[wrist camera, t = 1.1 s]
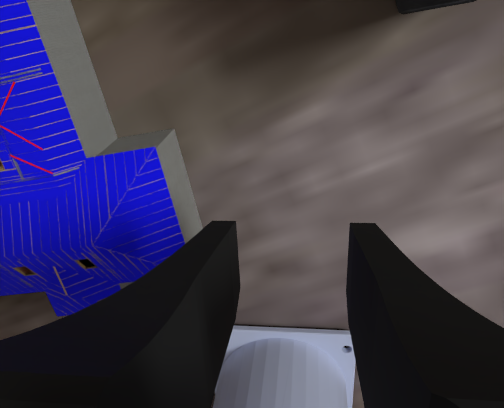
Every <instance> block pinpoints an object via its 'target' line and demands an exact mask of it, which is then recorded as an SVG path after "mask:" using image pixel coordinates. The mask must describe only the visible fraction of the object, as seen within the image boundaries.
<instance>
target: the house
mask: <svg viewBox="0 0 504 408" xmlns="http://www.w3.org/2000/svg"><path fill="white" fill-rule="evenodd" d="M202 229H203V227H202V224H201V221H200V217H199V214H198V210H197V207H196V203H195V200H194V196H193V193H192V189H191V186H190V182H189V179H188V175H187V172H186V168H185V165H184V161H183V158H182V154H181V151H180V147H179V144H178V140H177V137H176V133H175V130H174V129H168V130H162V131H156V132H151V133H145V134H139V135H133V136H128V137H122V138H117V135H116V132H115V129H114V126H113V123H112V120H111V117H110V114H109V111H108V108H107V105H106V103H105V100H104V97H103V94H102V91H101V88H100V85H99V82H98V79H97V76H96V73H95V71H94V68H93V65H92V62H91V59H90V56H89V53H88V50H87V47H86V44H85V41H84V39H83V36H82V33H81V30H80V27H79V24H78V21H77V18H76V15H75V12H74V9H73V6H72V4H71V1H70V0H0V296H5V295H15V294H24V293H33V292H43V291H45V292H46V294H47V296H48V298H49V301H50V303H51V305H52V307H53V309H54V311H55V313H56V315H57V316H66V315H71V314H74V313H76V312H78V311H80V310H82V309H84V308H86V307H88V306H90V305H92V304H94V303H96V302H98V301H100V300H102V299H104V298H107V297H108V296H110V295H112V294H114V293H116V292H117V291H119V290H121V289H123V288H124V287H126V286H128V285H129V284H131V283H133V282H134V281H136V280H137V279H139V278H140V277H142V276H143V275H145V274H146V273H148V272H149V271H151V270H152V269H153V268H155V267H156V266H157V265H159V264H160V263H161V262H163V261H164V260H166V259H167V258H168V257H170V256H171V255H172V254H174V253H175V252H176V251H177V250H178V249H180V248H181V247H182V246H183V245H184V244H186V243H187V242H188V241H189V240H190V239H192V238H193V237H194V236H195V235H196V234H197V233H199V232H200V231H201V230H202ZM89 261H90V262H92V263H93V264H94V265H95V267H91V264H90V262H89Z"/></svg>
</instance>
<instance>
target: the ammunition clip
mask: <svg viewBox="0 0 504 408" xmlns="http://www.w3.org/2000/svg"><path fill="white" fill-rule="evenodd" d="M474 1H476V0H396V4H397V8H398V12H399V13H401V14H407V13H413V12H418V11H424V10H430V9H435V8H441V7H446V6H452V5H458V4H463V3H469V2H474Z"/></svg>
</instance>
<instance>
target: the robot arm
mask: <svg viewBox="0 0 504 408" xmlns="http://www.w3.org/2000/svg"><path fill="white" fill-rule="evenodd" d="M239 292H240V274H239V260H238V246H237V231H236V221H212V222H210V223H209V224H208V225H207V226H206V227H204V228H203V229H202V230H201V231H200V232H199V233H197V234H196V235H195V236H194V237H193V238H192V239H190V240H189V241H188V242H187V243H186V244H184V245H183V246H182V247H181V248H180V249H178V250H177V251H176V252H175V253H174V254H172V255H171V256H170V257H168V258H167V259H166V260H164V261H163V262H161V263H160V264H159V265H157V266H156V267H155V268H153V269H152V270H151V271H149V272H148V273H146V274H145V275H143V276H142V277H140V278H139V279H137V280H136V281H134V282H133V283H131V284H129V285H128V286H126V287H124V288H123V289H121V290H119V291H117V292H116V293H114V294H112V295H110V296H108V297H107V298H104V299H102V300H100V301H98V302H96V303H94V304H92V305H90V306H88V307H86V308H84V309H82V310H80V311H78V312H76V313H74V314H71V315H69V316H67V317H64V318H62V319H59V320H57V321H54V322H52V323H49V324H47V325H44V326H41V327H39V328H36V329H33V330H31V331H28V332H25V333H22V334H19V335H16V336H13V337H10V338H7V339H3V340H0V408H211V404H212V400H213V395H214V392H215V400H214V404H213V408H352V401H353V388H354V374H355V361H356V365H357V371H358V376H359V381H360V386H361V391H362V396H363V401H364V407H365V408H504V328H502V327H501V326H499V325H497V324H495V323H494V322H492V321H490V320H488V319H487V318H485V317H484V316H482V315H480V314H479V313H477V312H476V311H474V310H472V309H471V308H470V307H468V306H467V305H465V304H464V303H462V302H461V301H459V300H458V299H457V298H455V297H454V296H452V295H451V294H450V293H448V292H447V291H446V290H444V289H443V288H442V287H440V286H439V285H438V284H437V283H436V282H434V281H433V280H432V279H431V278H430V277H428V276H427V275H426V274H425V273H424V272H422V271H421V270H420V269H419V268H418V267H417V266H416V265H415V264H414V263H413V262H412V261H411V260H410V259H408V258H407V257H406V256H405V255H404V254H403V253H402V252H401V251H400V249H399V248H398V247H397V246H396V245H395V244H394V243H393V242H392V241H391V240H390V239H389V238H388V237H387V236H386V234H385V233H384V232H383V231H382V230H381V229H380V228H379V227H378V226H377V225H376V224H375V223H350V231H349V249H348V267H347V285H346V295H347V310H348V324H349V329H350V331H347V330H325V329H302V328H280V327H257V326H235V325H234V322H235V319H236V312H237V306H238V299H239ZM344 346H350V347H349V348H344Z"/></svg>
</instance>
